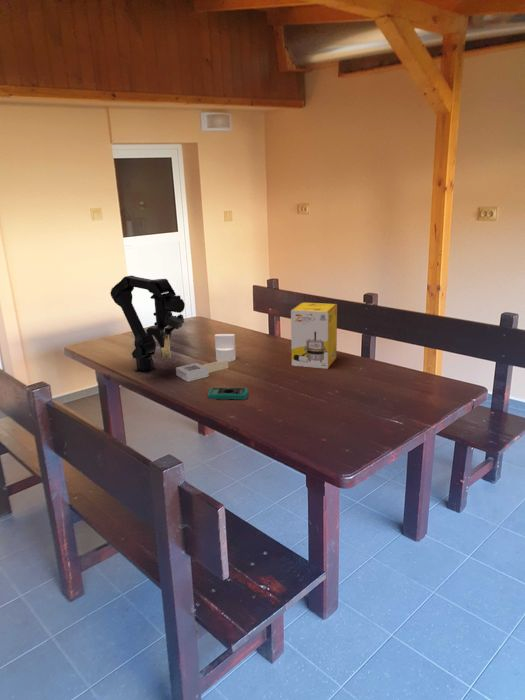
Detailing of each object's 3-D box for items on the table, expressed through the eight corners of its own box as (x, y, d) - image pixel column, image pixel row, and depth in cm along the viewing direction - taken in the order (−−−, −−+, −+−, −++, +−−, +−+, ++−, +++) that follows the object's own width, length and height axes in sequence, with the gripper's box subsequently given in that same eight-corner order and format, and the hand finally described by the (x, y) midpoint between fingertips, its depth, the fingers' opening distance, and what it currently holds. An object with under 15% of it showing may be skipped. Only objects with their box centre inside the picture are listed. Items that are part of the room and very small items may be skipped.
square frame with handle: (176, 375, 228) (175, 367, 227) (221, 364, 240) (221, 357, 239) (187, 381, 220) (186, 373, 219) (233, 370, 232) (232, 362, 231)
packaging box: (291, 365, 237) (290, 310, 230) (302, 354, 252) (301, 302, 245) (327, 368, 232) (327, 312, 224) (336, 357, 246) (337, 304, 239)
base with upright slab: (237, 357, 252) (235, 332, 248) (234, 363, 243) (233, 337, 240) (218, 357, 253) (216, 332, 249) (214, 363, 244) (213, 337, 241)
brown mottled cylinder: (159, 358, 227) (157, 335, 224) (164, 355, 231) (162, 333, 228) (168, 359, 226) (166, 336, 223) (172, 356, 229) (170, 333, 226)
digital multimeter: (246, 400, 201) (246, 393, 200) (207, 401, 202) (207, 393, 201) (248, 393, 208) (248, 386, 207) (210, 393, 209) (210, 386, 208)
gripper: (169, 316, 211) (172, 354, 216) (189, 306, 228) (192, 341, 233) (144, 314, 215) (147, 352, 219) (166, 304, 231) (168, 339, 236)
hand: (165, 346), depth 227 cm, fingers closed on brown mottled cylinder, 4 cm apart
